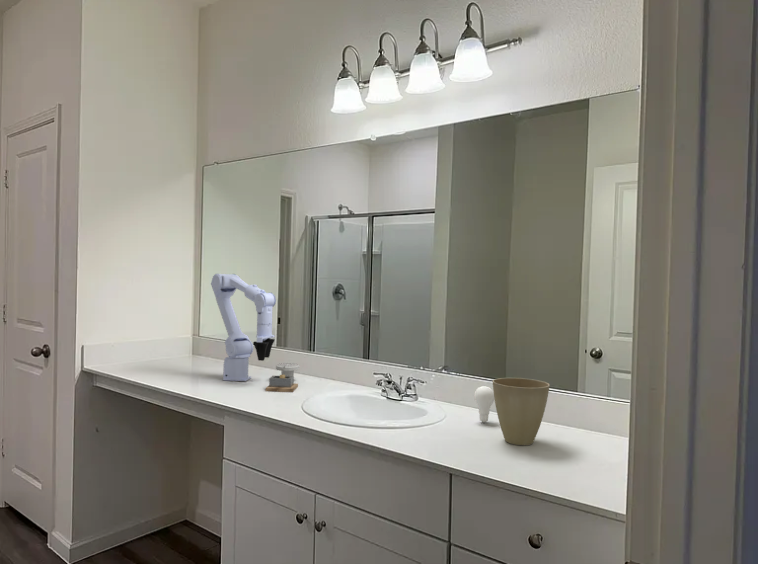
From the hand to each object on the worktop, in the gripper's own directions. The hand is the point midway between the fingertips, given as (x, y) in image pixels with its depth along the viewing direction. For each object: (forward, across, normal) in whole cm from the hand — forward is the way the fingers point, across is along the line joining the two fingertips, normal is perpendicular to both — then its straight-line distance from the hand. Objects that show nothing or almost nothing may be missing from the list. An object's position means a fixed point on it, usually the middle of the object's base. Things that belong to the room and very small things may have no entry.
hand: (263, 358), depth 217 cm
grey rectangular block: (+9, -7, -9) cm, 14 cm away
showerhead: (+10, +8, -8) cm, 15 cm away
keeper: (+10, -7, -9) cm, 15 cm away
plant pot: (+10, -62, -86) cm, 106 cm away
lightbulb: (+10, -44, -79) cm, 91 cm away
